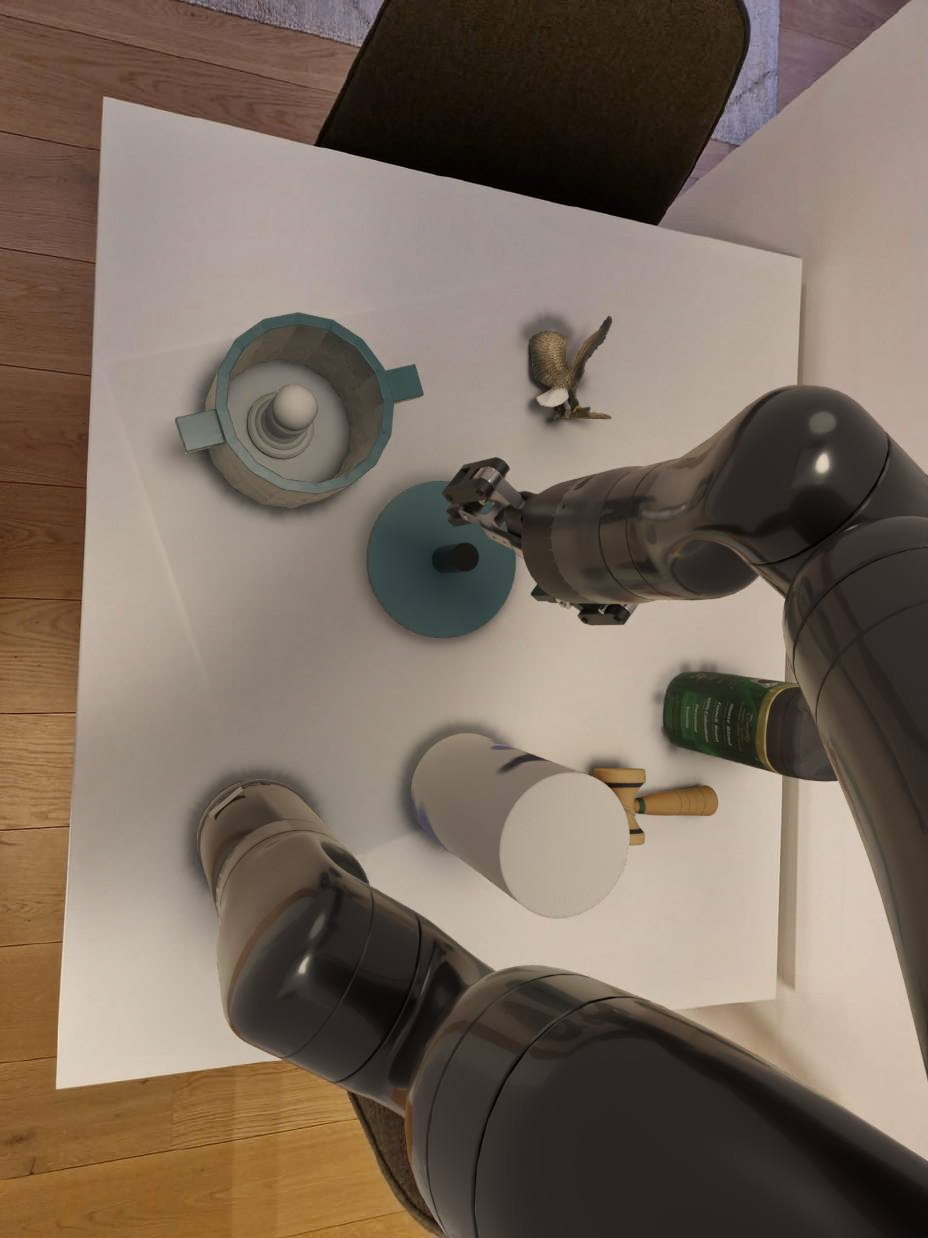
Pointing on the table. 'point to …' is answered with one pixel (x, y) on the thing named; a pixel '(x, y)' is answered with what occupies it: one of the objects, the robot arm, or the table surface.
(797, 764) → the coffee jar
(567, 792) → the container
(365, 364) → the pot
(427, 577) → the lid
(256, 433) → the chess piece
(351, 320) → the table surface
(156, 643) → the table surface
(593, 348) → the eagle figurine
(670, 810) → the kendama
